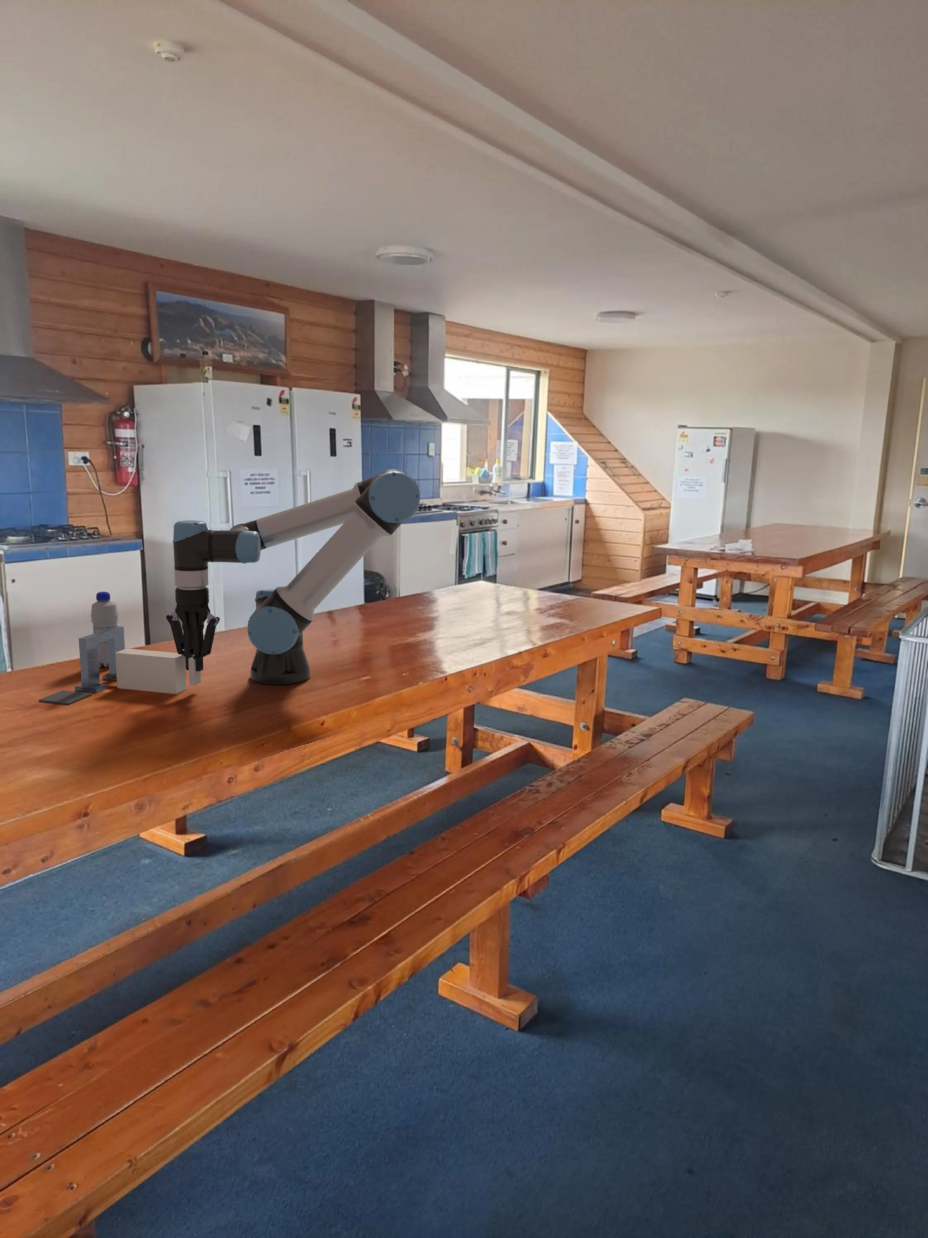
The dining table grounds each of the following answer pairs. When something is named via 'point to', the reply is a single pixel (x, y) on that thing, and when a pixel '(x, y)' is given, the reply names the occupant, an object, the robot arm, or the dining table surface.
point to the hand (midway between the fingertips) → (195, 683)
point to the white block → (150, 671)
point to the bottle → (103, 622)
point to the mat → (65, 697)
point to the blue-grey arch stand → (90, 657)
